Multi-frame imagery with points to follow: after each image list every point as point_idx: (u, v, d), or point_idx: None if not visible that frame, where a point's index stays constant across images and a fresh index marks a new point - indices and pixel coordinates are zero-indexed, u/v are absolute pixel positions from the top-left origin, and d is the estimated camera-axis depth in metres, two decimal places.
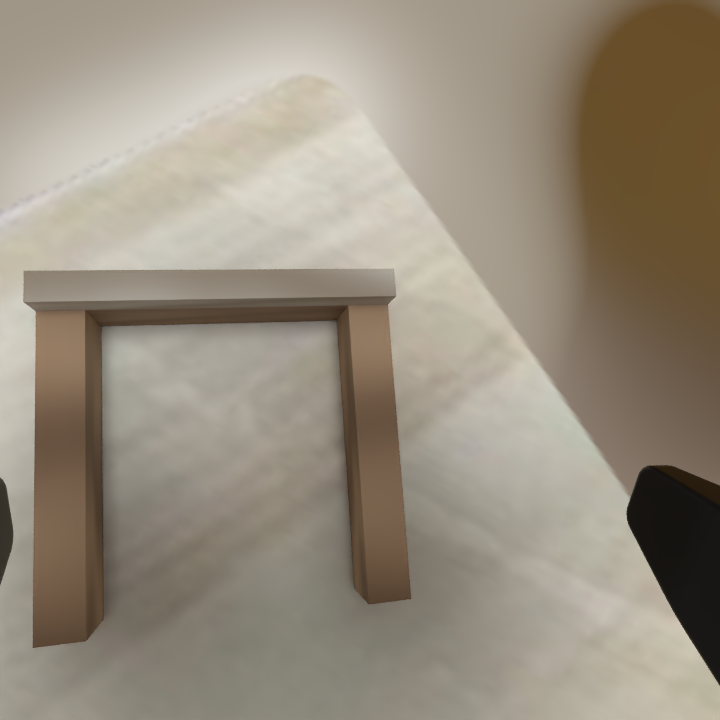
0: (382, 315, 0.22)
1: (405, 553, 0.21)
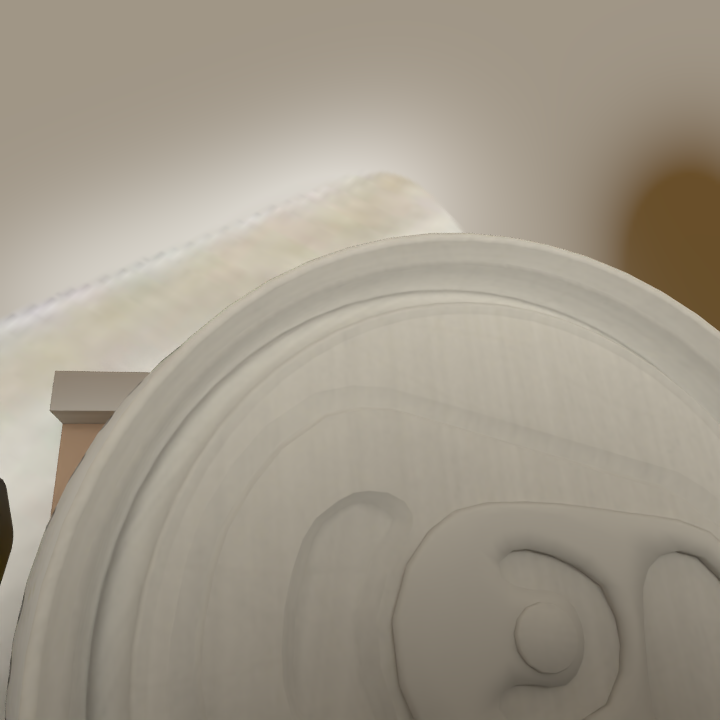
0: None
1: None
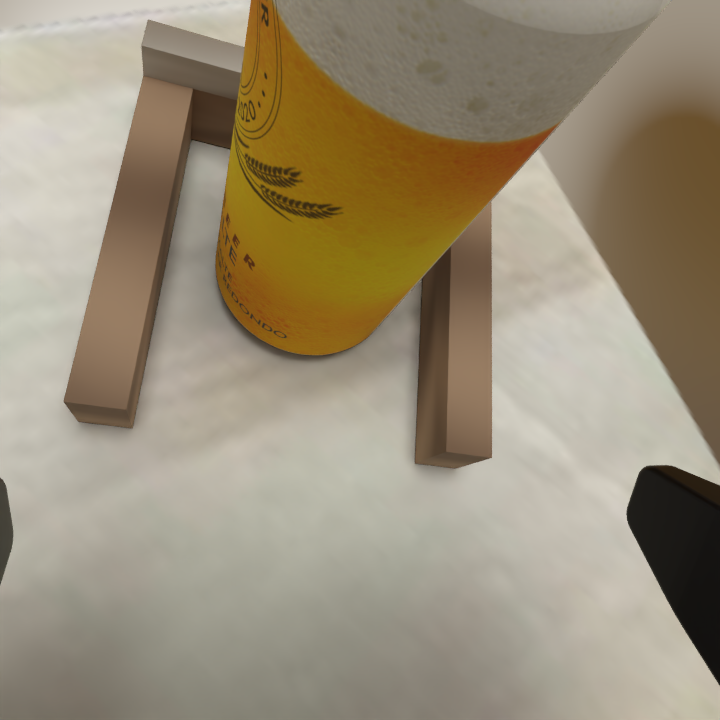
0: None
1: (489, 408, 0.18)
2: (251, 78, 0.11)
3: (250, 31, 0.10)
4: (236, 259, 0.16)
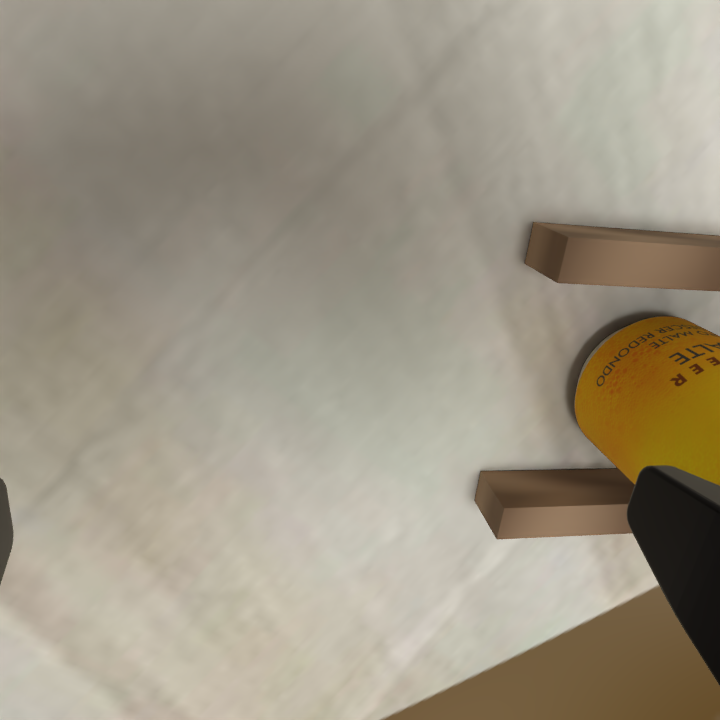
0: None
1: (532, 536, 0.24)
2: None
3: None
4: (677, 363, 0.20)
